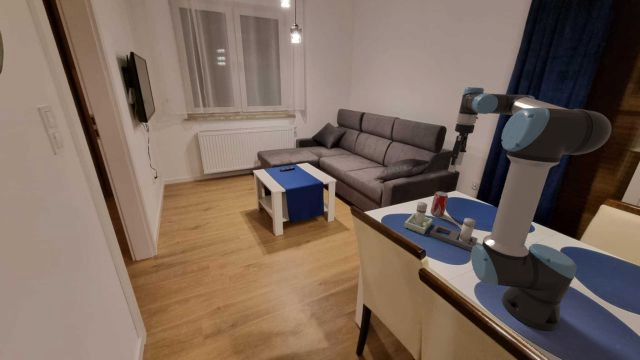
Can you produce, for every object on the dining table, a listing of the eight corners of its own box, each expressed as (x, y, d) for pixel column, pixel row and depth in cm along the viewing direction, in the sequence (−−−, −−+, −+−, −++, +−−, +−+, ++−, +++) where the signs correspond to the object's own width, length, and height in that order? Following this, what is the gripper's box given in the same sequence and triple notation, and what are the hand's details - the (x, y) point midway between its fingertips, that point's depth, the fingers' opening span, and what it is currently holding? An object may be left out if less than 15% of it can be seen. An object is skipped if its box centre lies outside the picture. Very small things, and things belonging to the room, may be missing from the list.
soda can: (427, 212, 148) (431, 191, 144) (436, 210, 151) (441, 190, 147) (437, 218, 143) (442, 197, 138) (446, 216, 145) (451, 195, 141)
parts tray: (423, 234, 127) (424, 229, 126) (403, 227, 132) (404, 222, 131) (431, 224, 136) (432, 219, 135) (412, 217, 142) (413, 212, 141)
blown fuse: (421, 228, 131) (425, 207, 127) (412, 224, 134) (416, 204, 129) (424, 224, 135) (428, 204, 130) (415, 221, 137) (419, 201, 133)
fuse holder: (472, 251, 115) (480, 228, 111) (429, 235, 126) (434, 214, 122) (476, 241, 123) (483, 219, 118) (435, 227, 134) (440, 206, 129)
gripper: (469, 128, 105) (457, 176, 113) (479, 121, 124) (468, 164, 131) (449, 125, 109) (439, 172, 117) (462, 119, 128) (452, 160, 136)
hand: (454, 168), depth 124 cm, fingers open, 13 cm apart
